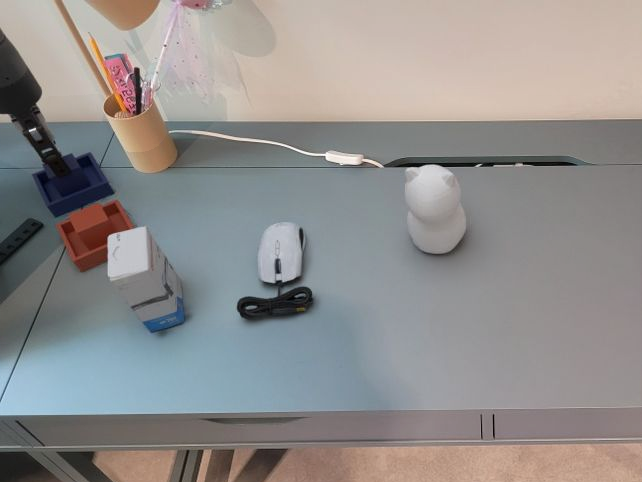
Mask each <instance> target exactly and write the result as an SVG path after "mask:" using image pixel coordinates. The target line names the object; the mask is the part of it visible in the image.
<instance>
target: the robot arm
mask: <svg viewBox="0 0 642 482" xmlns="http://www.w3.org/2000/svg"><path fill="white" fill-rule="evenodd" d="M40 85H41V84H39V82H38V80H37V78H36V77H35V75H34V74H33V72H32V71H31V69H30V68H29V66H28V65H27V63H26V61H25V60H24V58H23V57H22V56H21V54H20V52H19V51H18V49H17V48H16V46H15V45H14V43H12V41H11V40H10V39H9V38H8V37H7V35H6V34H5V33H4V31H3V29H2V28H1V27H0V115H8V117H9V118H10V121H11V123H12V124H13V126H14V127H15V129H16V130H18V131H19V132H20V133H21V135H22V136H23V138H24V140H25V141H26V143H27V144H28V145H29V147H31V148H33V149H34V151H35V152H36V153H37V155H38V157H39V158H40V159H41V162H42V164H44V163H45V165H47V164H48V165H49V167H50V168H51V170H52V171H53V172H54V174H55V175H56V177H58V178H62V177H64V176H67V175H69V174H71V173H72V171H71V169H70V168H69V166H68V165H67V163H66V162H65V160H64V159H63V154H62V151H61V150H60V149H58V147H57V142H56V139H55V138H56V137H55V135H54V134H53V132H52V130H51V129H50V128H49V126H48V124H47V122H46V117H45V116H44V115H43V113H42V111H41V109H40V106H38V104H37V103H38V102H39V101H40V100H41V98H42V95H43V88H42V86H40ZM46 150H47V151H46ZM43 151H44V152H43Z"/></svg>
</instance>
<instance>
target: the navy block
mask: <svg viewBox="0 0 642 482" xmlns="http://www.w3.org/2000/svg"><path fill="white" fill-rule="evenodd" d="M62 157H63V159H64V160H65V162H66V163H67V165H68V166H69V168H70V169H71V171H72V173H71V174H69V175H67V176H64V177H62V178H58V177H56V175H55V174H54V172H53V171H52V170H51V168H50V167H49V165H48V164H47V165H45V163H42V164H41V165H42V167H43V170H44V169H45V171H46V174H47V176H48V178H49V180H50V181H51V182H52V184H53V185H54V187H55V188H56V189H57V191H58V192H59V194H60V195H61V196H62V198H63V197H65V196H68V195H70V194H73V193H75V192H78V191H80V190H83V189H85V188H88V187H90V186H92V185H91V183H90V181H89V180H88V178H87V176H86V174H85V172H84V171H83V169H82V168H81V166H80V165H79V163H78V162H77V160H76V159H75V158H76V157H75V155H74V154H73V153H72V152H71V153H68V154H66V155H62Z"/></svg>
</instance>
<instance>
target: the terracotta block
mask: <svg viewBox="0 0 642 482" xmlns="http://www.w3.org/2000/svg"><path fill="white" fill-rule="evenodd" d="M101 205H102V204H101V203H100V202H97V203H93V204H92V205H91V204H90V205H89V206H86V207H84V208H82V209H79V210H77V211H75V212H71V213H70V214H67V217H68V219H70V221H71V223H72V225H73V227H74V229H75V231H76V233H77V234H78V236H79V237H80V238H81V240H82V241H83V242H84V244H85V245H86V246H87V248H88V249H89V251H91V250H94V249H96V248H98V247H100V246H103V245H105V244H107V243H108V236H109V235H111V234H114V233H118V232H117V230H116V228H115V226H114V224H113V223H112V221H111V220H110V218H109V217H108V215H107V214H106V212H105V211H104V209H103V208H102V206H101Z"/></svg>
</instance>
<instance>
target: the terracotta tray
mask: <svg viewBox="0 0 642 482" xmlns="http://www.w3.org/2000/svg"><path fill="white" fill-rule="evenodd" d="M100 205H101V206H102V208H103V209H104V211H105V212H106V214H107V215H108V217H109V218H110V220H111V221H112V223H113V224H114V226H115V228H116V230H117V232H118V233H119V232H123V231H127V230H131V229H134V228H135V226H134V224H133V223H132V221H131V219H130V217H129V216H128V214H127V212H126V210H125V209H124V207H123V206H122V203H121V202H120V200H119V199H118V198H116V199H114V200H111V201H109V202H106V203H104V204H100ZM55 227H56V229H57V231H58V233H59V236H60V237H61V239H62V241H63V244H64V246H65V247H66V250H67V252H68V254H69V256H70V258H71V261H72V262H73V264H74V265H75V267H76V268H77V269H78V270H79V271H80V273H83V272H85V271H87V270H90V269H91V268H94V267H96V266H99V265H100V264H103V263H105V262H108V243H107V244H105V245H103V246H100V247H98V248H96V249H94V250H91V251H89V249H88V248H87V246H86V245H85V244H84V242H83V241H82V240H81V238H80V237H79V236H78V234H77V233H76V231H75V229H74V227H73V225H72V223H71V221H70V219H69V218H68V219H65V220H62V221H60V222H58V223H56V224H55Z"/></svg>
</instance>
